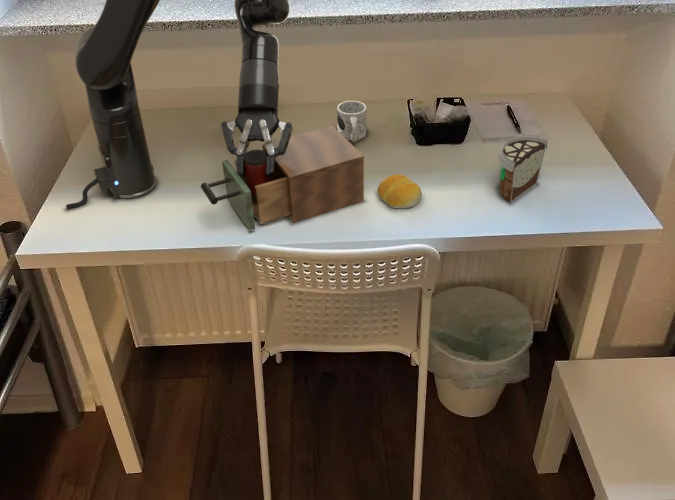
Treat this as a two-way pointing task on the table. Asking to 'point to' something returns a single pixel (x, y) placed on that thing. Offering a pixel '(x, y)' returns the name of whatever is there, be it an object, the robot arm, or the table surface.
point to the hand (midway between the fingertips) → (255, 175)
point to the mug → (351, 120)
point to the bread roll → (399, 191)
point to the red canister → (255, 168)
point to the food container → (520, 165)
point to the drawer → (253, 196)
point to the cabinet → (321, 173)
